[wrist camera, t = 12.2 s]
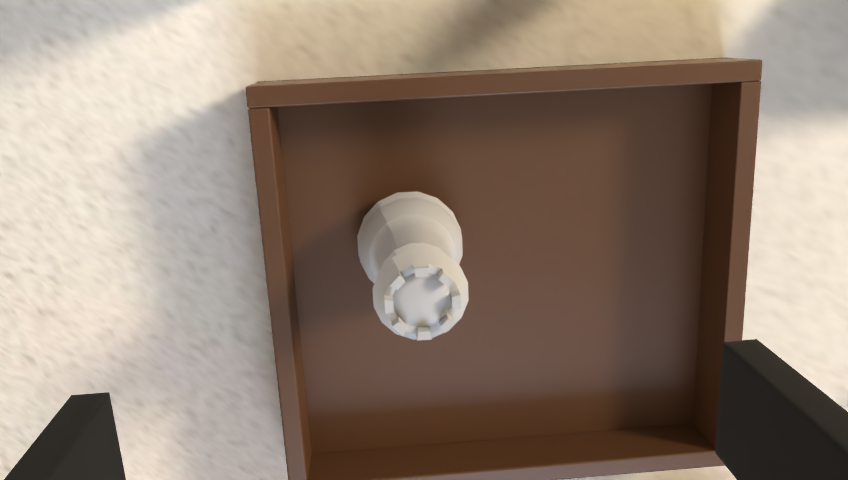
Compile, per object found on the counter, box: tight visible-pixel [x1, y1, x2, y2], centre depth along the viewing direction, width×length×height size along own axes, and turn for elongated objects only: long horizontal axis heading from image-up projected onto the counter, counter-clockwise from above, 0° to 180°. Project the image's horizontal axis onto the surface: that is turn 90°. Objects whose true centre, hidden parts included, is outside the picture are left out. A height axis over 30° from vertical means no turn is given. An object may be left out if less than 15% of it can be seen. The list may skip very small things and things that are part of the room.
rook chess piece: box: [357, 191, 469, 340], centre depth 28 cm, size 4×4×8 cm
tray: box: [246, 58, 762, 480], centre depth 31 cm, size 18×20×3 cm
